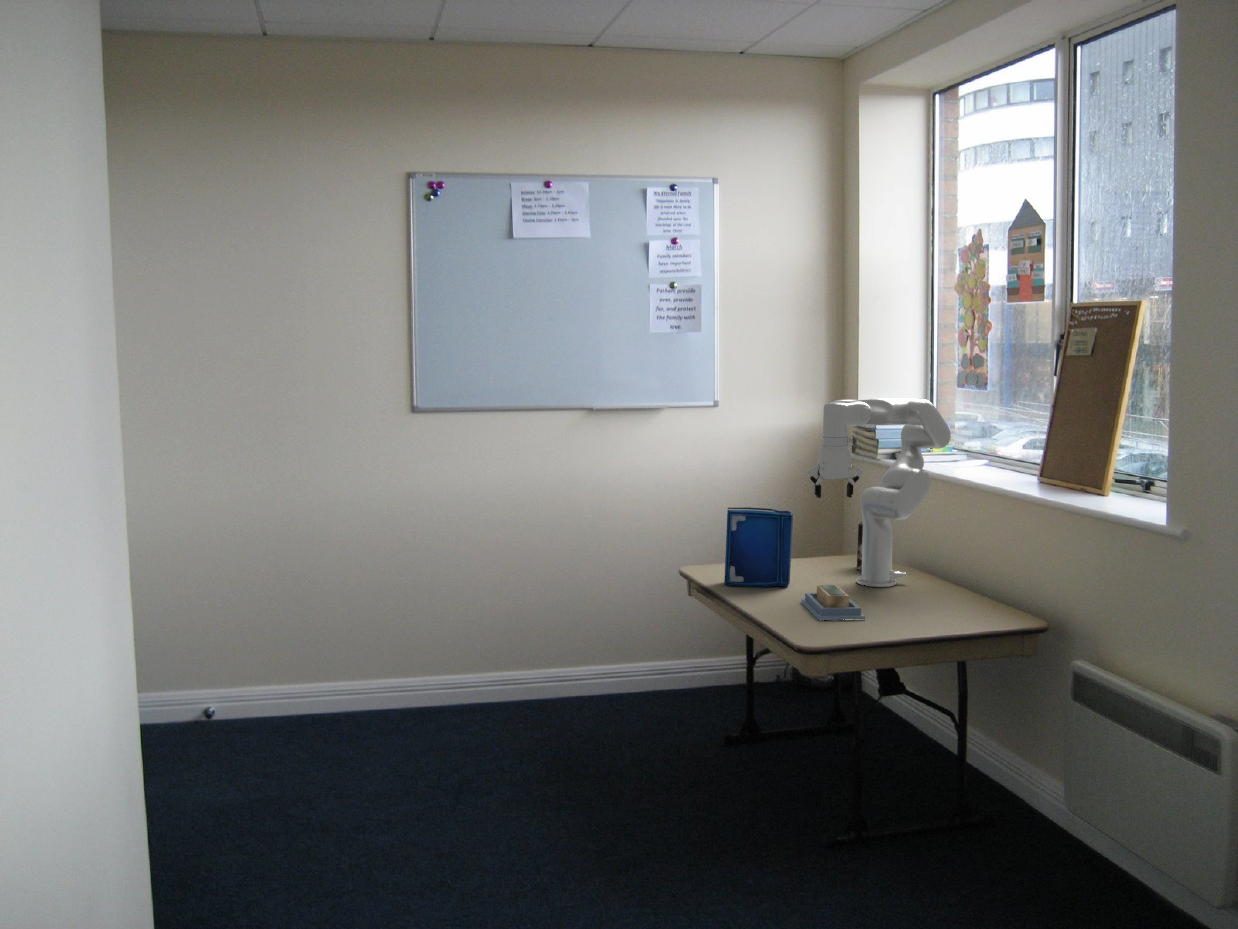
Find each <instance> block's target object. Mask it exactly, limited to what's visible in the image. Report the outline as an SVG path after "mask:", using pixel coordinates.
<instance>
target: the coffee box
mask: <svg viewBox="0 0 1238 929" xmlns="http://www.w3.org/2000/svg"><path fill="white" fill-rule="evenodd" d="M857 527H858V528H857V529H858V530H857V549H856V550H857V553H856V554H857V555H856V556H857V557H856V570H857V569H859V571H862V538H863V521H860V522H859V523H858V526H857Z"/></svg>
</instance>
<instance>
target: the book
mask: <svg viewBox="0 0 1238 929" xmlns="http://www.w3.org/2000/svg"><path fill="white" fill-rule="evenodd" d="M793 521H794V513H792V512H791V511H789V510H777V509H773V508H766V507H765V508H763V507H751V506H750V507H749V506H748V507H741V506H740V507H727V514H726V540H725V542H726V543H725V560H724V561H725V562H724V564H725V565H724V582H723V583H724V584H723V585H725V586H735V587H743V586H749V587H748V588H772V587H782V588H783V587H784V588H785V587H787V586H789V585H790V583H791V565H792V564H791V563H792V542H793V524H794V522H793Z"/></svg>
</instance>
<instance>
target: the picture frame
mask: <svg viewBox="0 0 1238 929" xmlns="http://www.w3.org/2000/svg"><path fill="white" fill-rule="evenodd" d="M816 593H817V601H818V602H819V603H820V604H821V605H822V606H823V607H824V608H840V607H849V598H850V595H849V594H848V593H846V592H845V591H844V590H843V589H842V588H841V587H840V586H839V585H837V584H817V585H816Z"/></svg>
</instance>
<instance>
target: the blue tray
mask: <svg viewBox="0 0 1238 929" xmlns="http://www.w3.org/2000/svg"><path fill="white" fill-rule="evenodd" d="M800 600H801V601H800V602H802V603H803V604H802V603H801V604H802V605H803V606H804V607H805V606H806V607H805V608H806V609H807V610H808V609H809V610H810V611H809V610H808V611H809V612H810V613H811V614H812V613H813V614H812V615H813V616H814V617H815V616H816V617H817V618H816V617H815V618H816V619H817V620H818V619H819V620H820V621H819V620H818V621H819V622H825V621H824V620H843V619H844V620H845V619H865V620H866V615H864V614H863V613H862V608H861V607H860V606H859V605H858V604H857V603H856V602H854V601H853V600H852V599H851V598H850V597H849V607H840V608H824V607H823V606H822V605H821V604H820V603H819V602H818V601H817V592H805V593H804V598H801V599H800ZM822 620H823V621H822Z"/></svg>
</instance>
